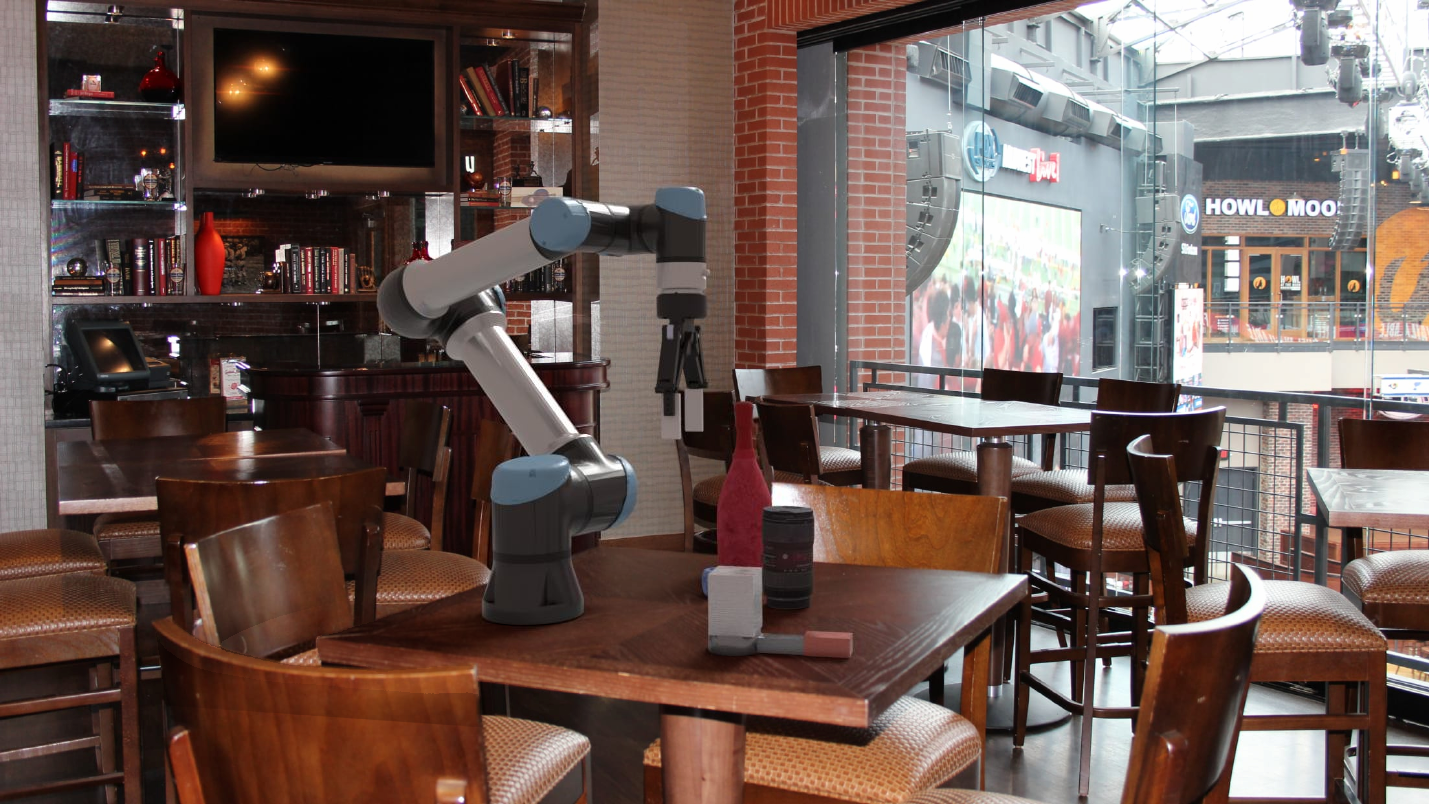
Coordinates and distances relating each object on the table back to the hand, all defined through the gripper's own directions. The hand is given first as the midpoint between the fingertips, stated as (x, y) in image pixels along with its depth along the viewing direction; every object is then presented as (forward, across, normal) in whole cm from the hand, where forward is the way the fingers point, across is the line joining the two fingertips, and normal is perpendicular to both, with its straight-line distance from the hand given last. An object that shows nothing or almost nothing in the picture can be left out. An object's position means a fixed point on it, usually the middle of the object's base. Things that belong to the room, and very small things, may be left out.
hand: (683, 435), depth 184 cm
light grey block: (+24, -20, -12) cm, 34 cm away
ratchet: (+27, -20, -18) cm, 38 cm away
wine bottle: (+27, +31, -3) cm, 41 cm away
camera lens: (+27, +7, -15) cm, 31 cm away
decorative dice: (+27, +13, -2) cm, 30 cm away
